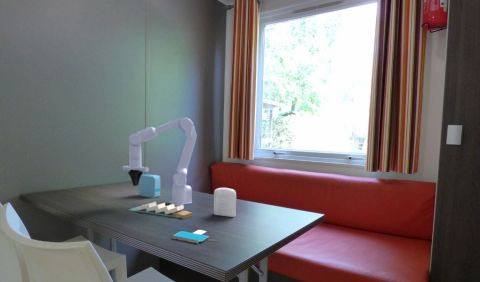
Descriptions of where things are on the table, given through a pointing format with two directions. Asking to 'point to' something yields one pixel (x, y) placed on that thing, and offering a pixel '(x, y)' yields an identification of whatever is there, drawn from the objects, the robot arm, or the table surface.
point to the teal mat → (152, 212)
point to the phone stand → (192, 236)
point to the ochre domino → (182, 214)
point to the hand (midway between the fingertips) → (135, 185)
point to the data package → (149, 186)
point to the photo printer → (225, 202)
